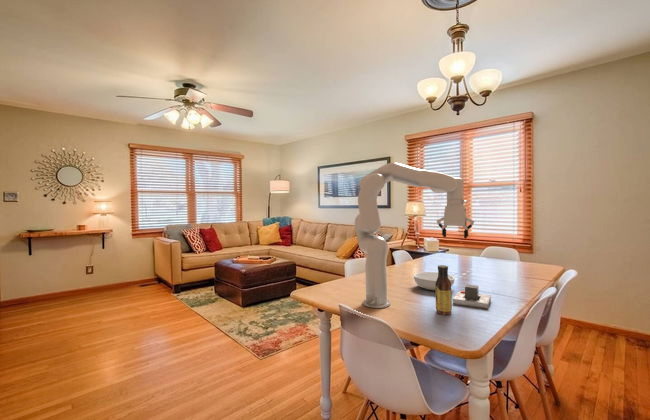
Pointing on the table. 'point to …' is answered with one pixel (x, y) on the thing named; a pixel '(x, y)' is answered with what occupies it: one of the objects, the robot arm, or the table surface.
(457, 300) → the socket plate
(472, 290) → the plug
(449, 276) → the serving bowl
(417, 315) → the table surface
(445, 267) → the sauce bottle
